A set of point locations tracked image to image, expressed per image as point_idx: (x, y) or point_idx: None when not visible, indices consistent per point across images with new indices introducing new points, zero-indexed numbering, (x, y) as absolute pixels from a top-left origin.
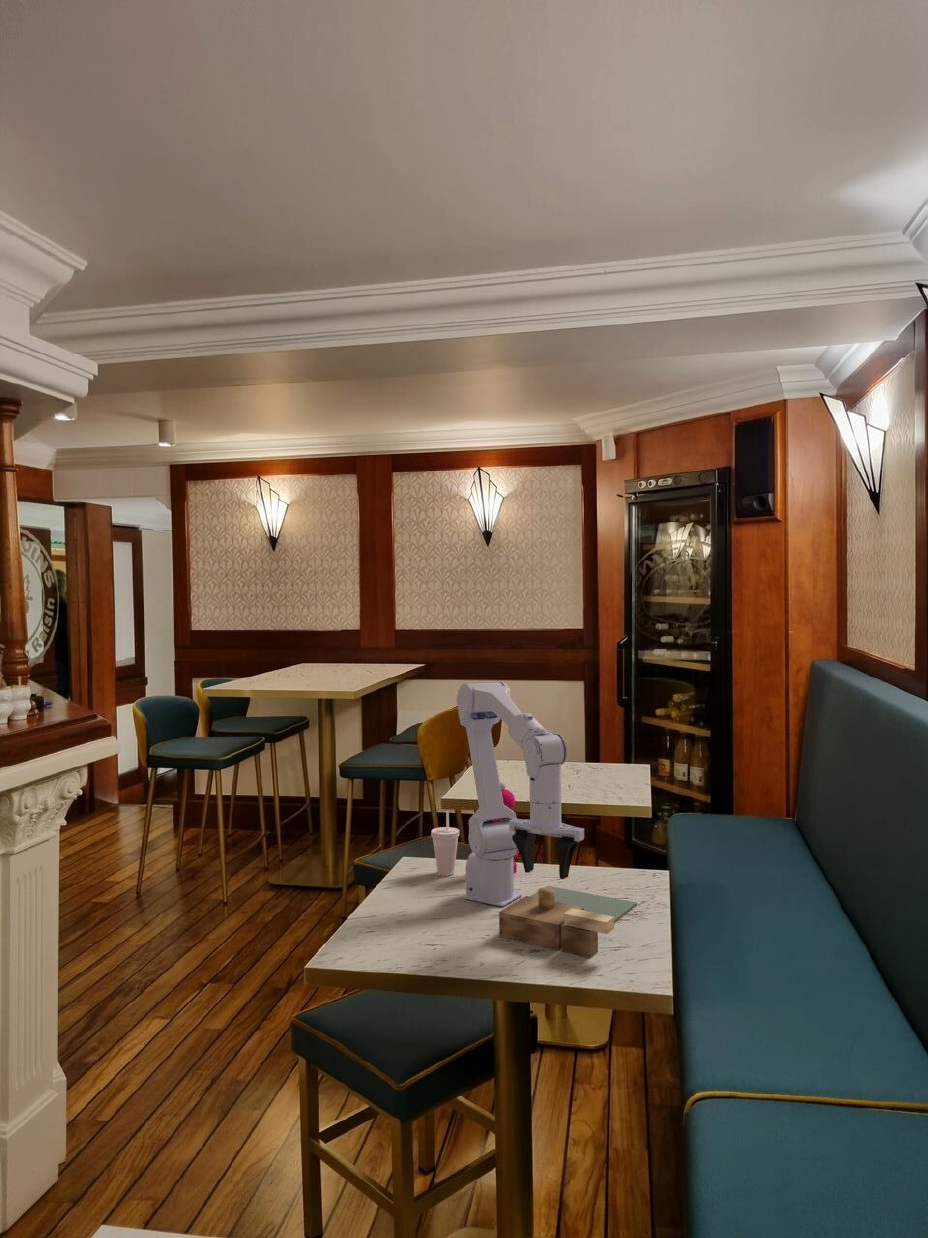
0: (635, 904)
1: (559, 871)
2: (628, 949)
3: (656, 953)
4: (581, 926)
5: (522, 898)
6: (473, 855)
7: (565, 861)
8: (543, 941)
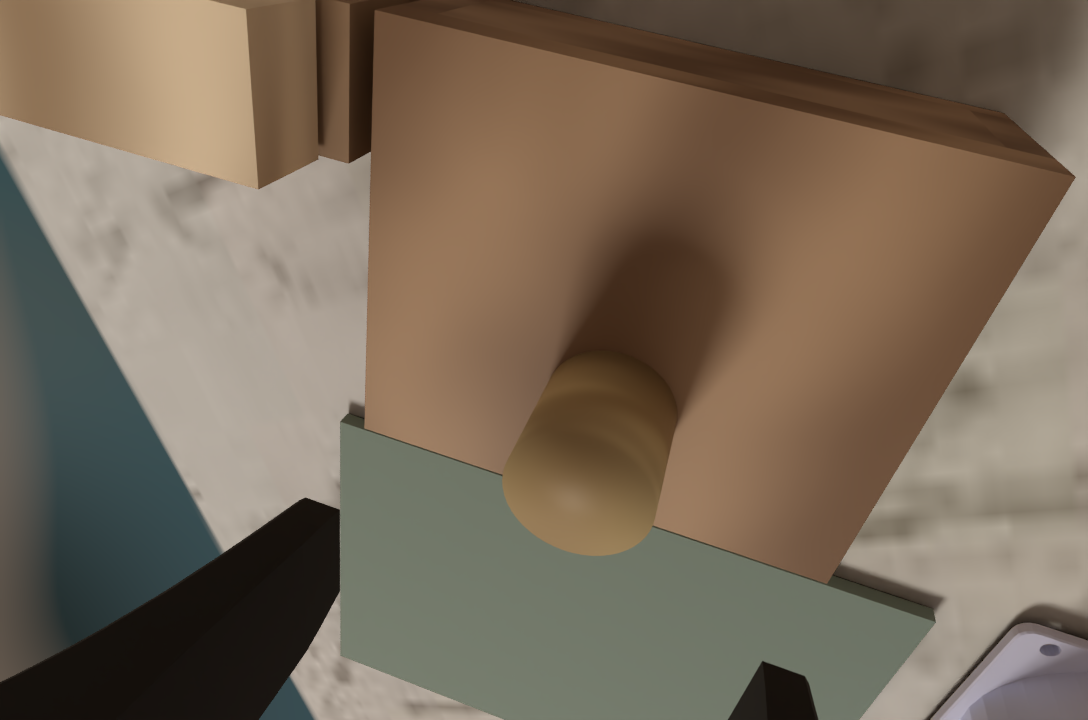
0: (341, 643)
1: (277, 562)
2: (145, 167)
3: (25, 157)
4: None
5: (850, 536)
6: None
7: (73, 653)
8: (578, 22)
